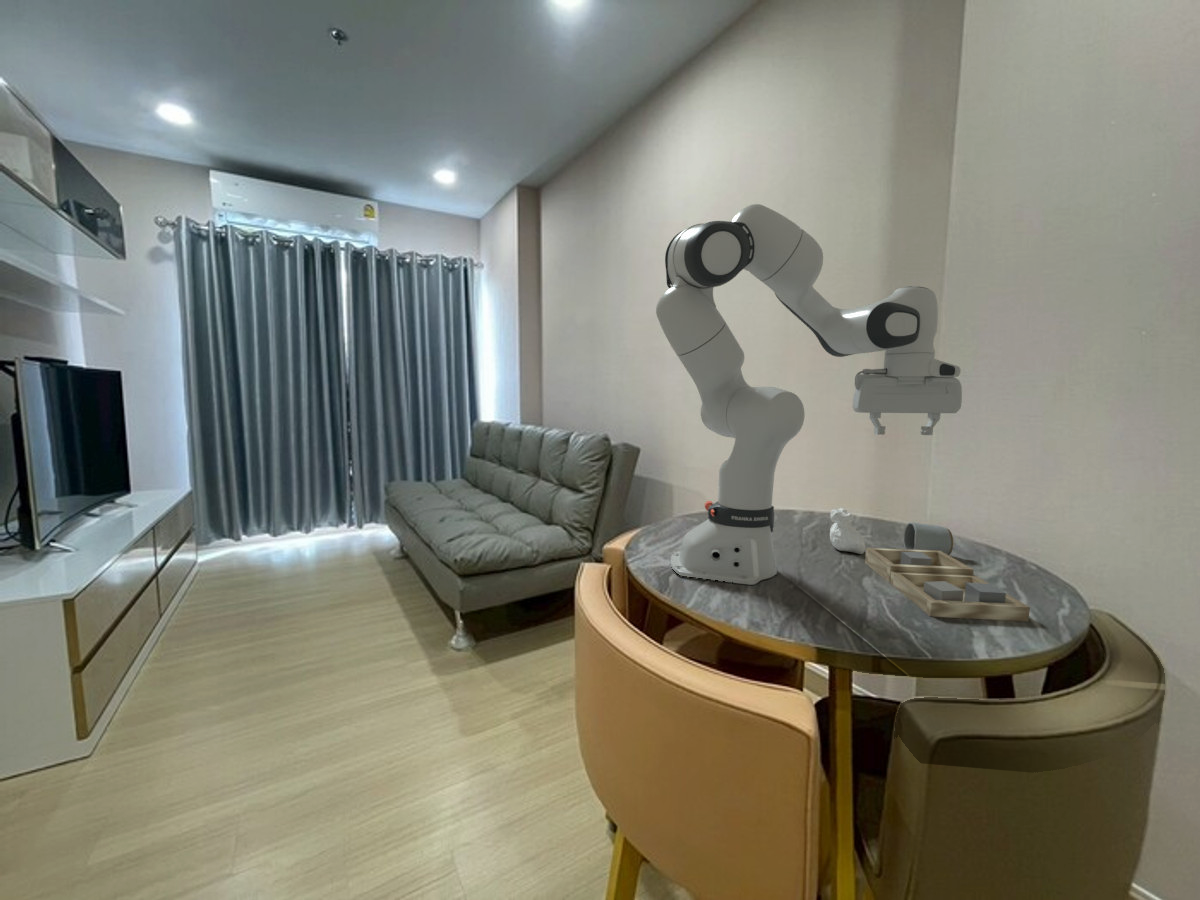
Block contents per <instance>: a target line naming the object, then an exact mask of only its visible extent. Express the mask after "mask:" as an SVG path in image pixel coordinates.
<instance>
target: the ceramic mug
mask: <svg viewBox="0 0 1200 900" xmlns="http://www.w3.org/2000/svg"><path fill="white" fill-rule="evenodd" d="M903 533H904V534H903V546H904V549H909V550H936V551H942V552H943V553H945V554H947V555H949V556H950V555H951V554H952V552H953V549H954V535H953V534H952V531H951V529H949V528H947V527H944V526H940V525H935V524H926V523H919V522H913V521H910V522H908V524H907V525H906V526H905V528H904V532H903Z"/></svg>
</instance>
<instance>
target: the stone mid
mask: <svg viewBox="0 0 1200 900" xmlns="http://www.w3.org/2000/svg"><path fill="white" fill-rule="evenodd" d="M900 564H902V565H926V566H931V565H932V558H930V557H928V556H927V555H925V554H923V553H922V552H902V551H901V561H900Z"/></svg>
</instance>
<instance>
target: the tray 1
mask: <svg viewBox="0 0 1200 900" xmlns="http://www.w3.org/2000/svg"><path fill="white" fill-rule="evenodd" d="M901 551H902V552H922V553H923V554H925V555H927V556H928V557H930V558H932V565H931V566H926V565H902V564H900V561H901ZM864 563H865V564H866V565H867V566H868V567H869V568H870V569H872V570H873V571H874V572H875V573H876V574H878V575H880V577H882V578H883V579H884V580H885V581H886V582H888V583H889V584H890V578H891V572H914V573H938V574H962V575H974V568H972V567H970V566H969V565H966V564H965V563H963V562H961V561H959V560H957V559H956V558H954V557H952V556H950V555H947V554H945V553H943V552H942V551H936V550H909V549H905V548H904V549H903V548H902V549H901V548H879V547H878V548H877V547H865V560H864Z"/></svg>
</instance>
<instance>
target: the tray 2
mask: <svg viewBox="0 0 1200 900" xmlns="http://www.w3.org/2000/svg"><path fill="white" fill-rule="evenodd" d="M936 581H946V582H948V583H950V584H952V585H954V586H956V587H958V588H960V589H962V590H964V593H963V601H947V600H934V599H933V598H932V597H930V596H929V595H928V594H926V593H925V592H924V582H936ZM966 583H984V584H990V583H988V582H987V581H985V580H984V579H982V578H980V577H978V576H976V575H975V574H973V575H962V574H938V573H914V572H891V578H890V583H889V584H890V585H892V586H893V587H894V588H895V589H896V590H897V591H898V592H900V593H901V594H902V595H904V597H906V598H907V599H908V600H910V601H911V602H912V603H913V604H915V605H916V606H917V607H918V608H919V609H921V610H922V612H924V613H926V614H927V615H928V616H929V617H934V618H937V617H938V618H953V619H974V620H975V619H976V620H989V621H990V620H994V621H995V620H996V621H1014V622H1029V618H1030V611H1031V607H1030V606H1029V605H1026V604H1025V603H1023V602H1022V601H1021V600H1018V599H1016V598H1014V597H1013V596H1011V595H1009V594H1007V593H1006V598H1005V603H989V602H968V601H964V596H965V586H966Z"/></svg>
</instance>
